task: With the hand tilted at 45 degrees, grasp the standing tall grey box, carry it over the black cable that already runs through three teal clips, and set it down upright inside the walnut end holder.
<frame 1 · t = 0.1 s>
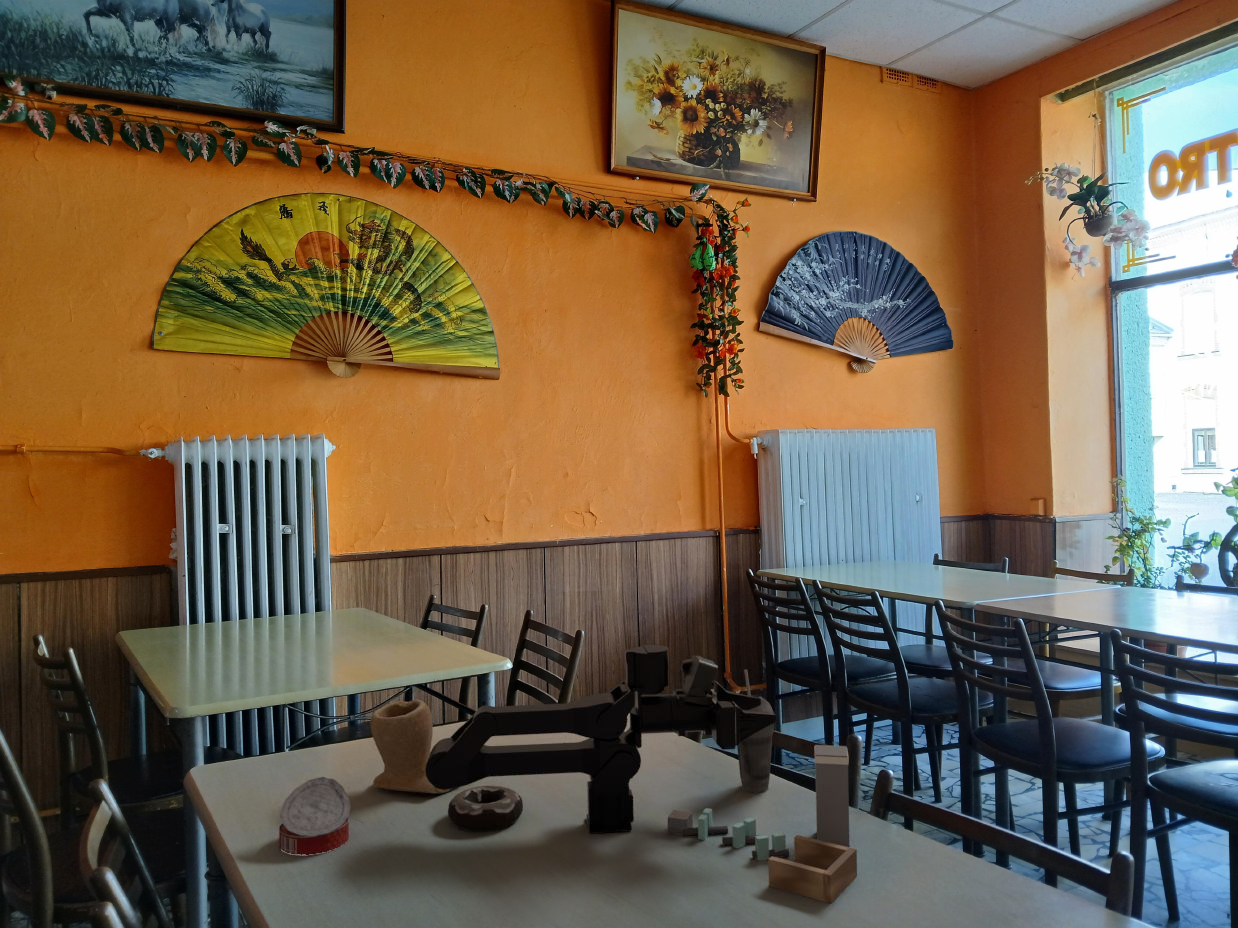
hand: (768, 709, 139), 17 cm above the table, tool horizontal, fingers open, 9 cm apart
beverage cup: (755, 788, 151), on the table
cable clips: (738, 832, 129), on the table
tall grey box: (832, 839, 130), on the table
canned food: (314, 844, 133), on the table
donut: (485, 821, 140), on the table
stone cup: (414, 790, 154), on the table
cable clamp: (680, 830, 134), on the table
end holder: (811, 879, 117), on the table
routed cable: (734, 841, 129), on the table
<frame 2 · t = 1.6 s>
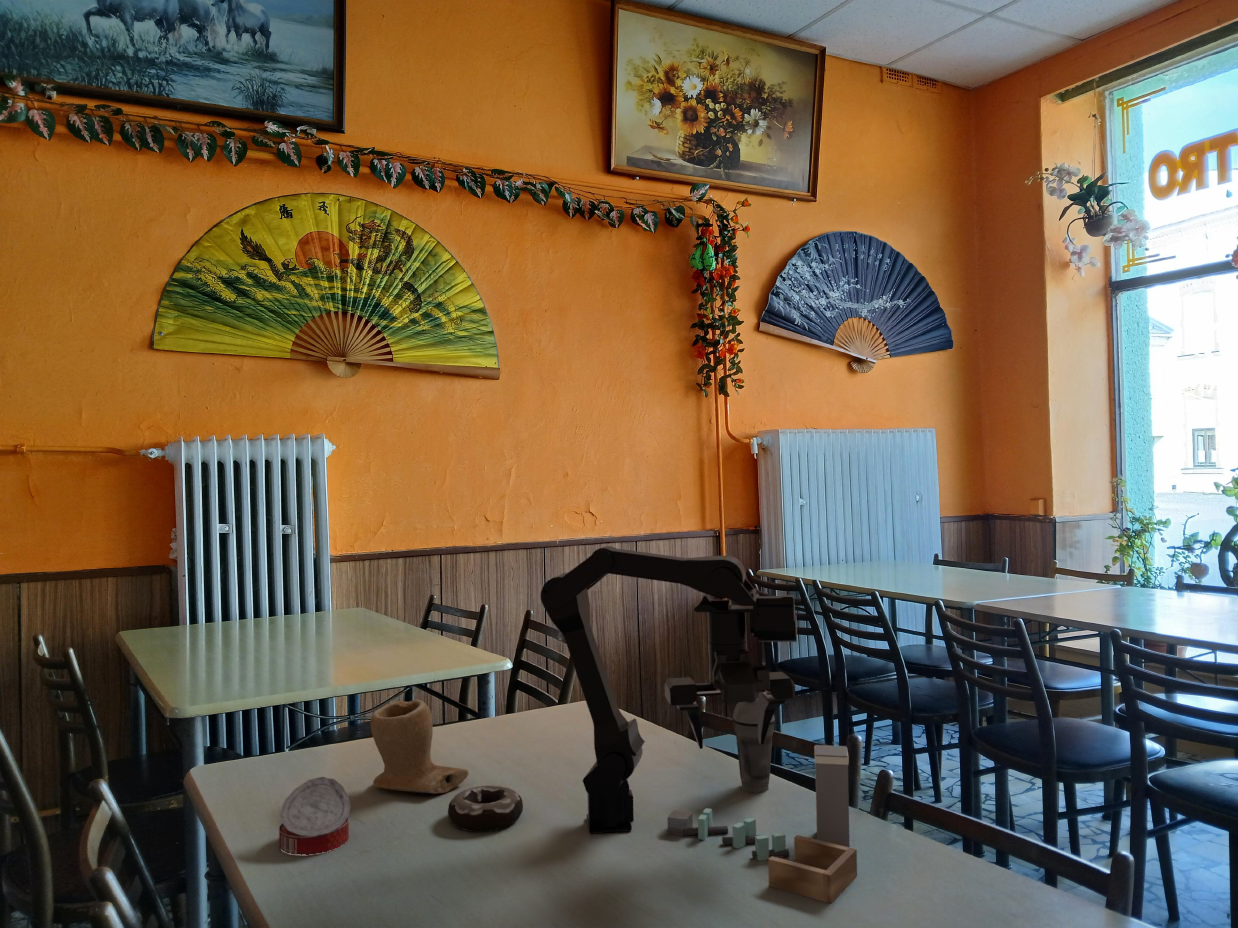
hand: (731, 745, 133), 13 cm above the table, tool pointing down, fingers open, 9 cm apart
nothing on the table moved.
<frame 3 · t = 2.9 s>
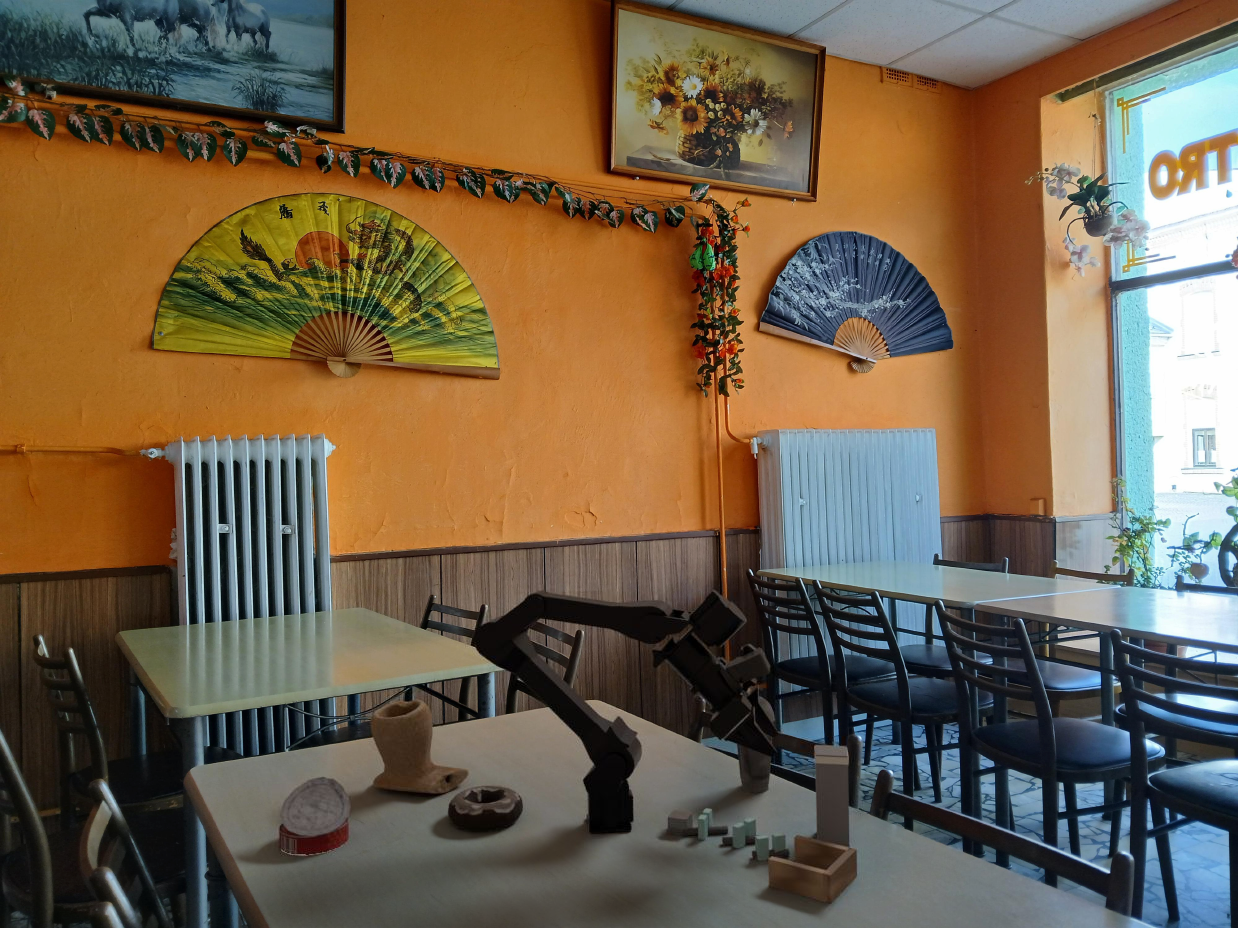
hand: (775, 744, 132), 13 cm above the table, tool tilted 45°, fingers open, 9 cm apart
nothing on the table moved.
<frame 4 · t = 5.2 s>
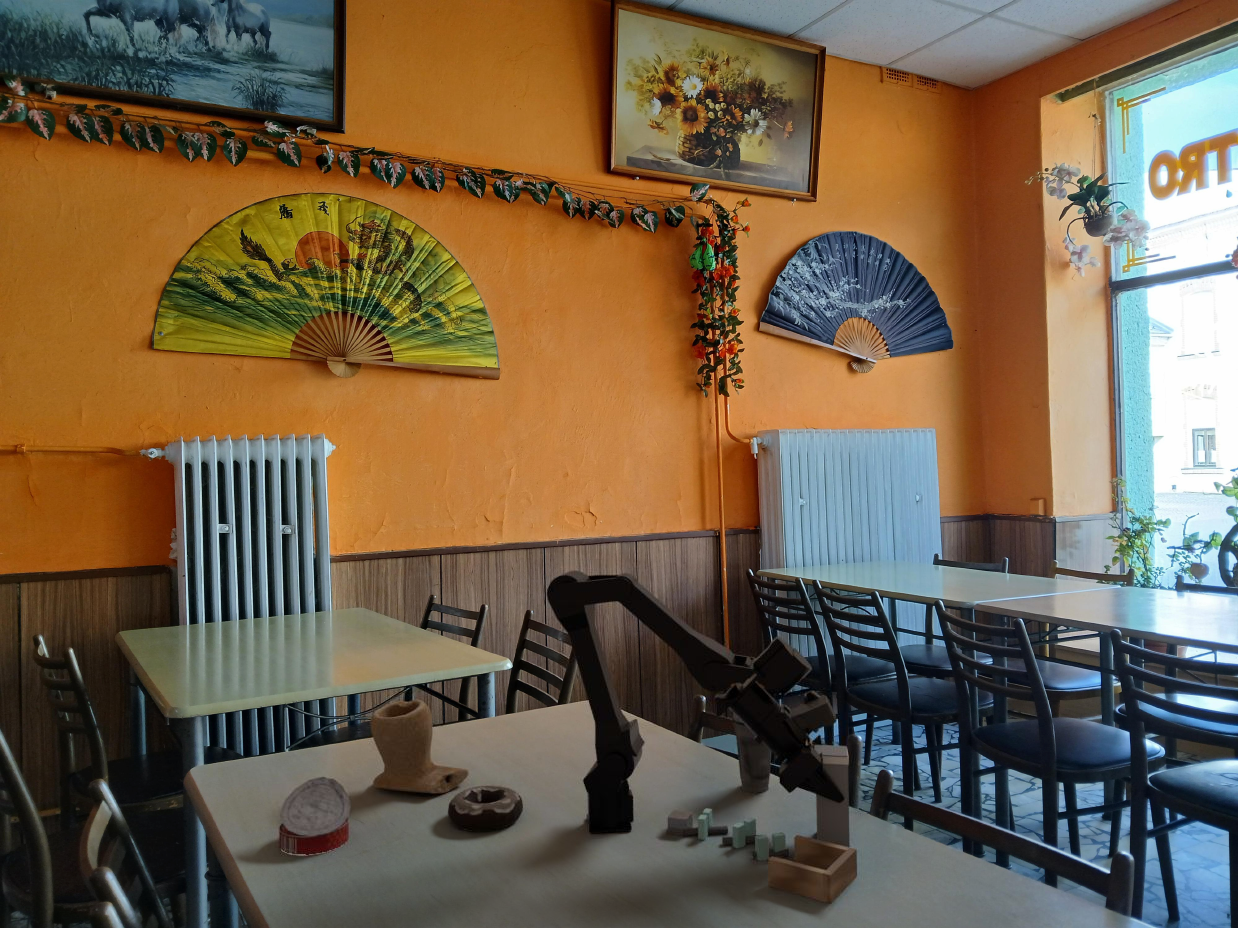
hand: (841, 794, 130), 7 cm above the table, tool tilted 45°, fingers closed on tall grey box, 4 cm apart
tall grey box: (832, 839, 130), on the table, touching gripper
everything else where it was.
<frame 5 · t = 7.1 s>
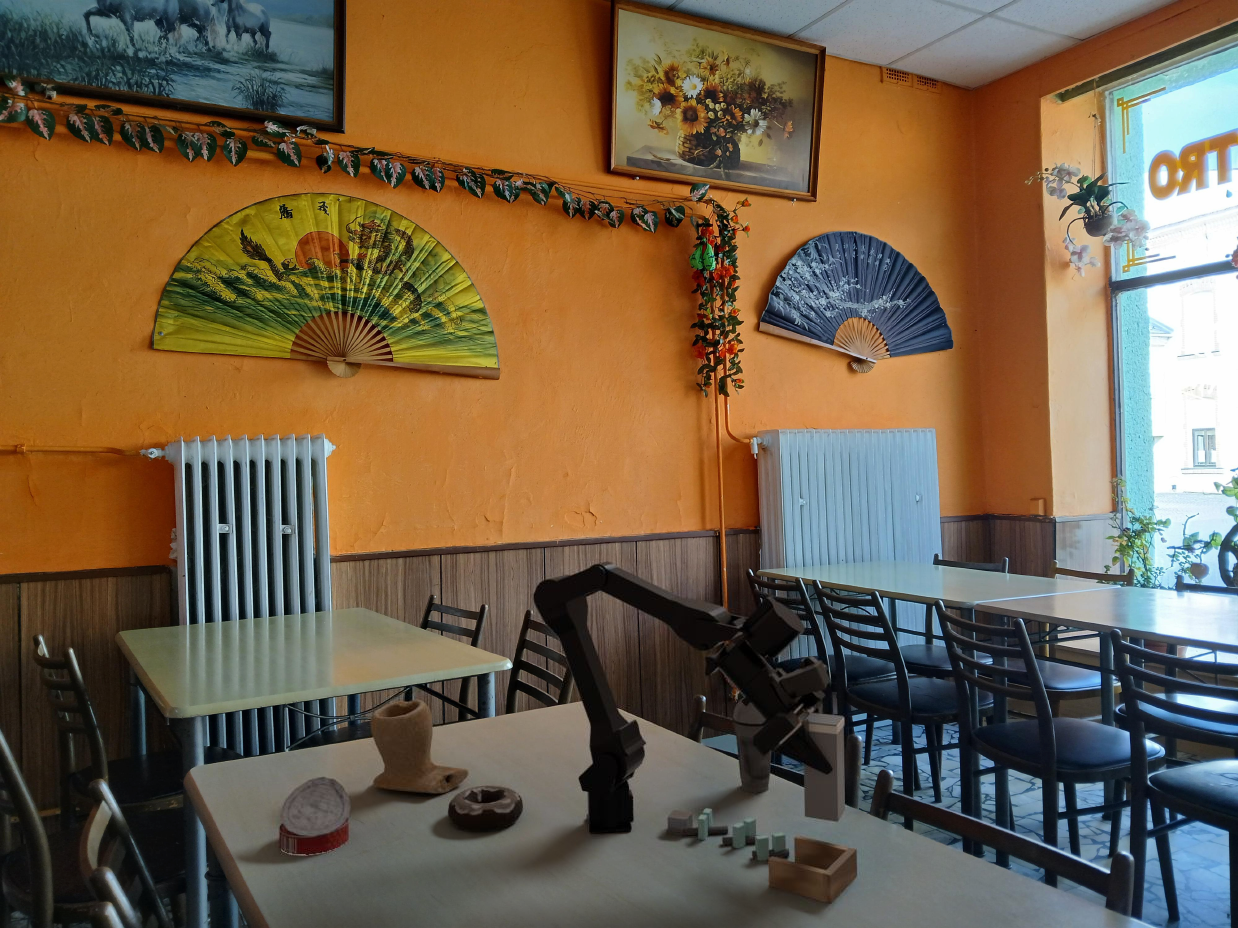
hand: (834, 766, 122), 13 cm above the table, tool tilted 45°, fingers closed on tall grey box, 4 cm apart
tall grey box: (825, 813, 122), point 7 cm above the table, touching gripper
everything else where it was.
when the fingers open (8 cm above the table, at t = 8.9 s): tall grey box drops 1 cm, resting in end holder.
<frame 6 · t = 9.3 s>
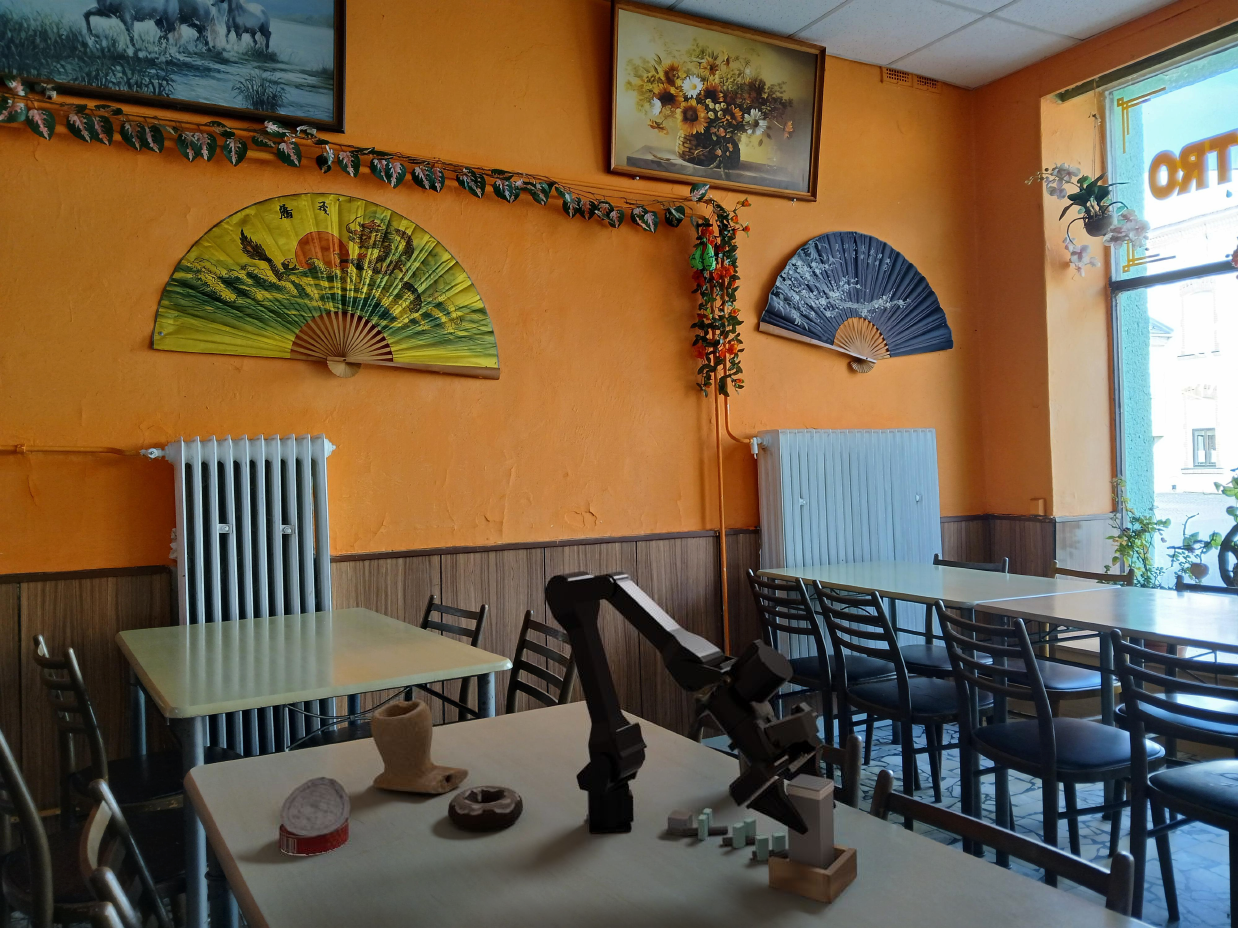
hand: (820, 820, 117), 8 cm above the table, tool tilted 45°, fingers open, 9 cm apart
tall grey box: (812, 880, 117), resting in end holder
everything else where it was.
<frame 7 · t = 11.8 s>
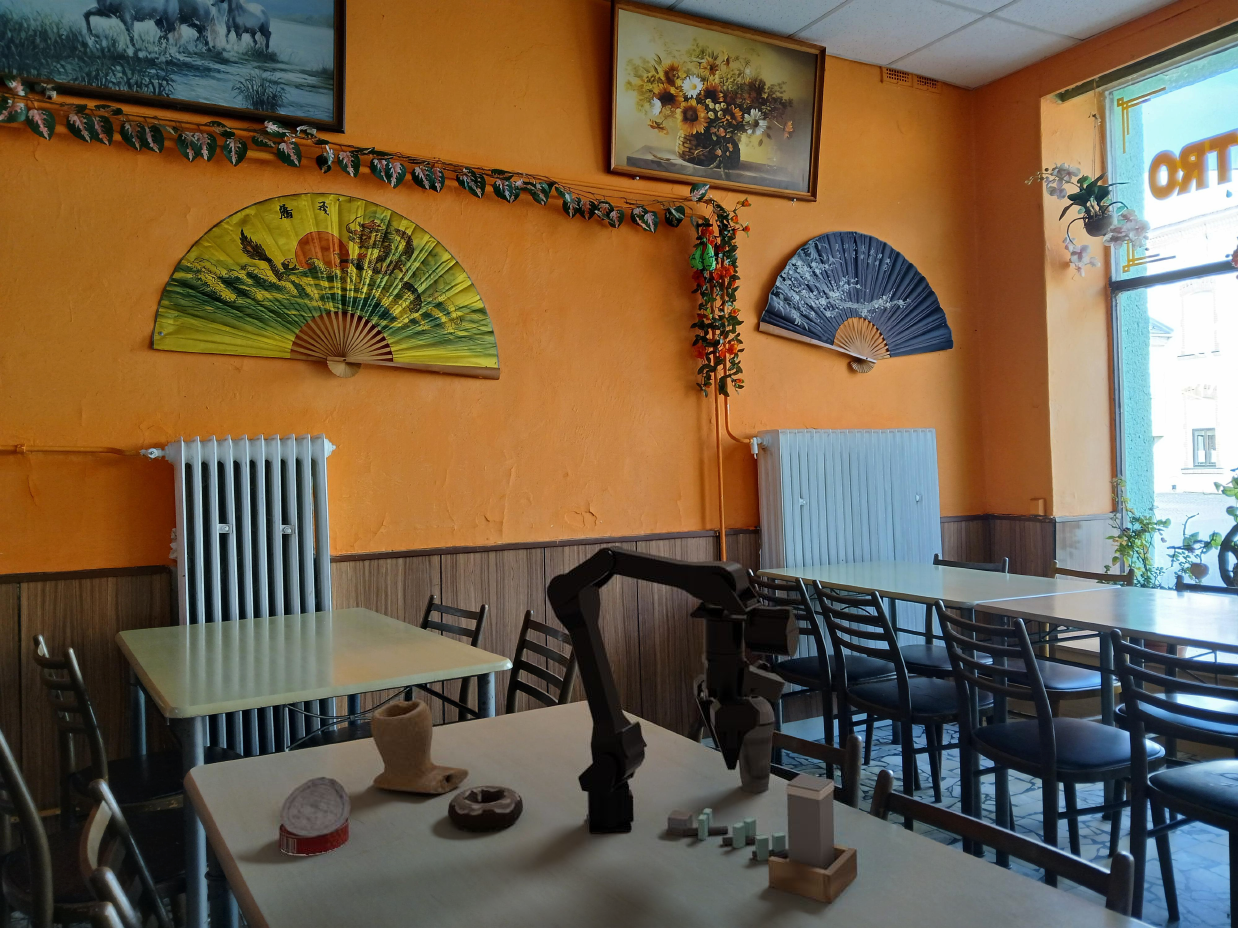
hand: (725, 758, 128), 13 cm above the table, tool pointing down, fingers open, 9 cm apart
nothing on the table moved.
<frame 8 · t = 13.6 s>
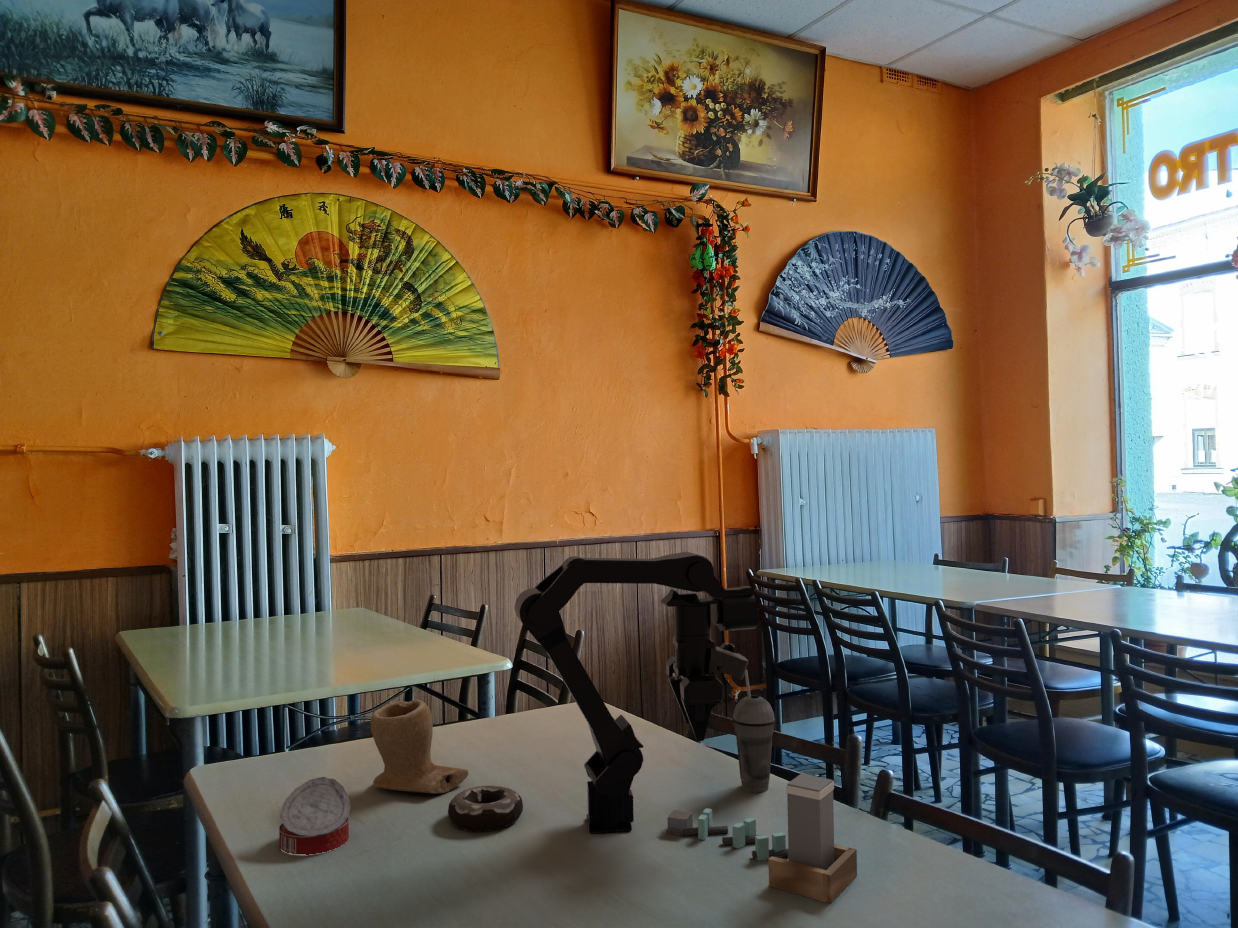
hand: (694, 731, 140), 13 cm above the table, tool pointing down, fingers open, 9 cm apart
nothing on the table moved.
at the end: tall grey box 0.0 cm off-centre on the end holder, point 0.0 cm above the end holder's base; tall grey box tilted 0°; the gripper is holding nothing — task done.
